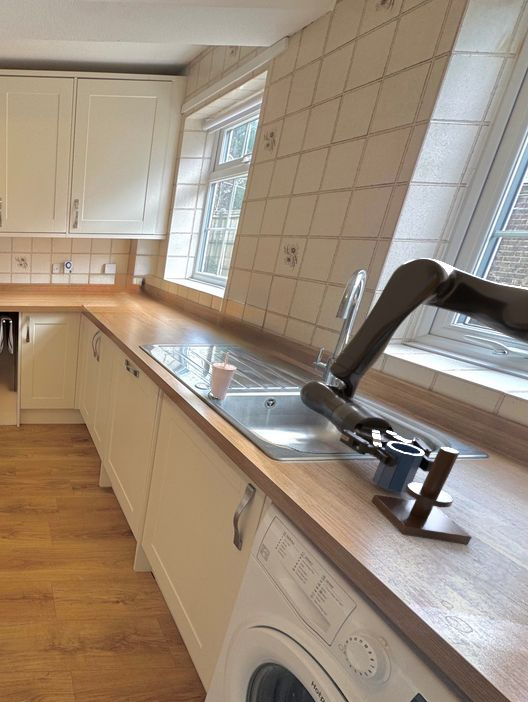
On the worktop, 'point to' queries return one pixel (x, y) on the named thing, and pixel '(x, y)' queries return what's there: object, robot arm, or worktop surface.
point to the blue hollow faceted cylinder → (399, 467)
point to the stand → (426, 504)
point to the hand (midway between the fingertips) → (410, 464)
